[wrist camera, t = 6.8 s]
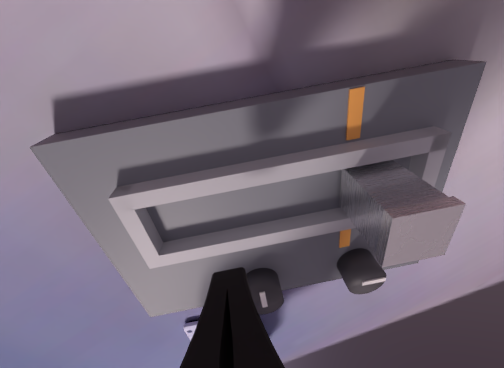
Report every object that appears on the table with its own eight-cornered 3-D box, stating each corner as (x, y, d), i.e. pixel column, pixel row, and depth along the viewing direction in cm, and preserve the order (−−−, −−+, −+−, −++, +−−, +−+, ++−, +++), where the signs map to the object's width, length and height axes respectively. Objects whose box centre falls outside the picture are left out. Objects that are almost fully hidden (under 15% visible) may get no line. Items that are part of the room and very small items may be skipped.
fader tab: (383, 198, 16) (444, 254, 11) (338, 207, 16) (382, 267, 11) (391, 155, 14) (465, 204, 10) (340, 166, 14) (392, 218, 10)
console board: (402, 246, 22) (436, 283, 19) (156, 295, 22) (143, 343, 18) (453, 59, 14) (532, 64, 10) (54, 134, 13) (-6, 165, 10)
